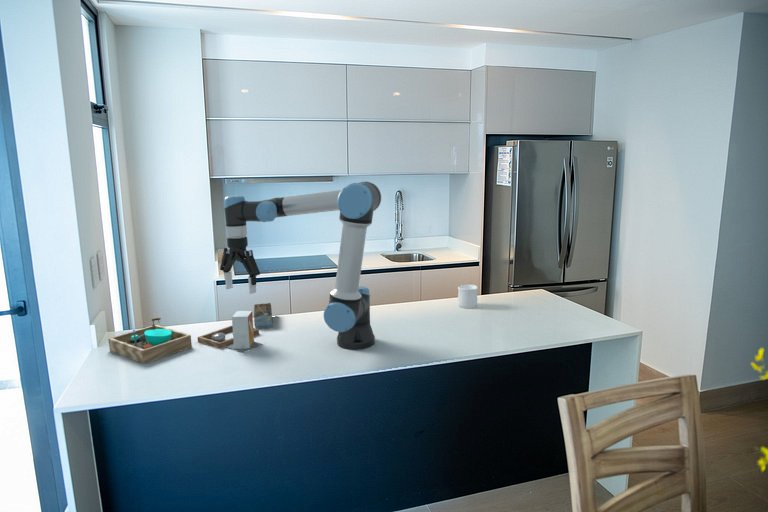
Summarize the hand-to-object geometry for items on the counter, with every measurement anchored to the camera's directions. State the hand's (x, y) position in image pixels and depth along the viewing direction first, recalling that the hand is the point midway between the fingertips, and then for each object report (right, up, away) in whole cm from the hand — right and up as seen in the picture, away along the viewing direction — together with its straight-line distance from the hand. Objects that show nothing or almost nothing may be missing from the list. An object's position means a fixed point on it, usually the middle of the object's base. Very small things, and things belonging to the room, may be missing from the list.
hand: (240, 290), depth 203 cm
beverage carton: (+1, -17, +35) cm, 38 cm away
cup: (+97, -11, +54) cm, 111 cm away
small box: (0, -22, +4) cm, 23 cm away
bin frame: (-9, -20, +14) cm, 26 cm away
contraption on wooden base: (-36, -23, +3) cm, 43 cm away
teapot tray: (-36, -23, +3) cm, 43 cm away
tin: (-12, -21, +10) cm, 26 cm away
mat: (0, -22, +4) cm, 23 cm away
